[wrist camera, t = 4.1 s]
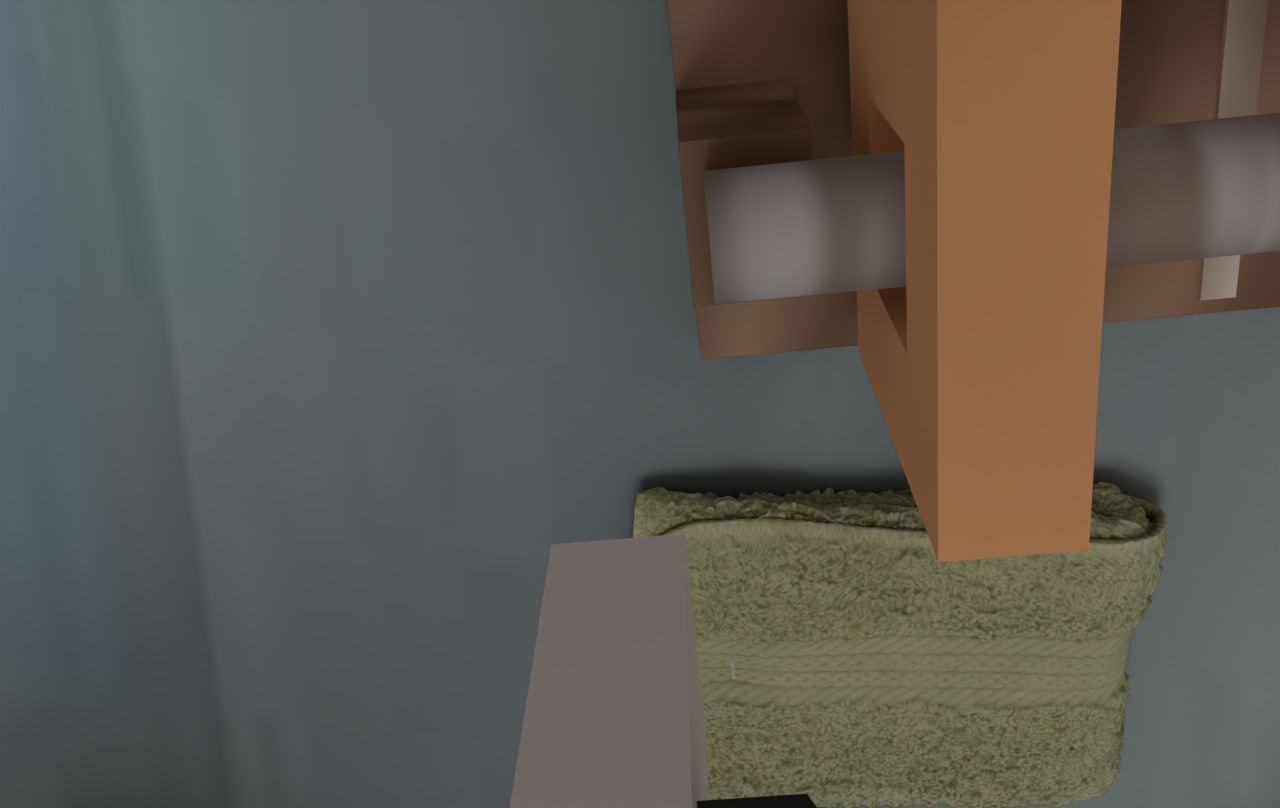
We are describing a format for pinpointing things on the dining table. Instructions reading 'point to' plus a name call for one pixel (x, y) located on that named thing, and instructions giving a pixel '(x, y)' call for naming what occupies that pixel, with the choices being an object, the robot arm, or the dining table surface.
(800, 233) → the rod stand
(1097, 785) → the washcloth
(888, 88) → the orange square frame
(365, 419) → the dining table surface
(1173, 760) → the dining table surface
